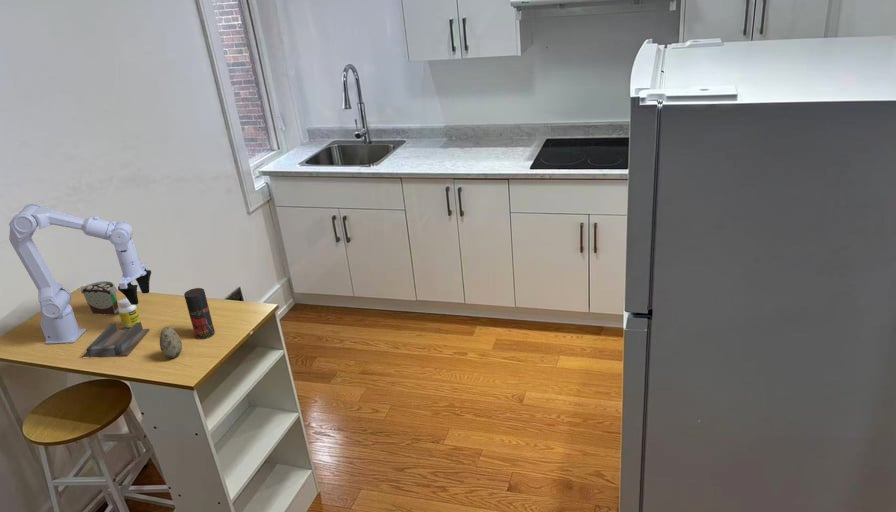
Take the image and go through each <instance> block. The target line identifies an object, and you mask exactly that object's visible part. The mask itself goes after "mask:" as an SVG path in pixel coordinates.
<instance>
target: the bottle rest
mask: <svg viewBox="0 0 896 512" xmlns="http://www.w3.org/2000/svg"><path fill="white" fill-rule="evenodd" d="M149 332H150V328H143V325H142V322H138V323H136V324H135V325H134V326H133V327H132V328H131V329H130V330H125V329H118V327H117V324H116V323H110V324H109V325H108V326H107V327H106V328H105V329H104V330H103V331H102V332H101V333H100V334H99V335H98V336H97V337H96V339H94V340H93V341H92V343H90V344H89V346H88V347H87V348H86V352H85V353H84V354H83V355H82V358H83V357H98V358H115V357H118V358H120V357H121V358H122V357H128V356H129V355H130V354H131V353H132V351H134V349H135V348H136V347H137V346H138V345H139V343H140V342H141V341H142V340H143V338H145V336H146V335H147V334H148V333H149Z"/></svg>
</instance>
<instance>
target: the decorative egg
mask: <svg viewBox="0 0 896 512" xmlns="http://www.w3.org/2000/svg"><path fill="white" fill-rule="evenodd" d="M159 348H160V350H161V353H162V355H164V356H165V357H167V358H176V357H178V356H179V355H180V354H181V352H182V350H183V343H182V340H181V338H180V335H178V333H177V332H176V331H175V329H173V327H169V326H165V327H164V328H162V329H161V332H160V336H159Z"/></svg>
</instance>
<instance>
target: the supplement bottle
mask: <svg viewBox="0 0 896 512" xmlns="http://www.w3.org/2000/svg"><path fill="white" fill-rule="evenodd" d="M117 303H118V308H119V309H118V311H119V312H118V314H119V317H120V321H121V323H122V328H123V330H130V329H131V328H132V327H133V326H134V325H135V324H136V323H138V322H141V318H140V315H139V310H138V307H137V305H131V303H130V302H129V300H128V299H127V298H126V297H124V298H121V299H119V300H118V301H117ZM141 323H142V322H141Z"/></svg>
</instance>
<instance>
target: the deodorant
mask: <svg viewBox="0 0 896 512" xmlns="http://www.w3.org/2000/svg"><path fill="white" fill-rule="evenodd" d="M183 295H184V300H185V305H186V307H187V311H188V314H189V317H190V321H191V326H192V329H193V333H194V337H195V339H197V340H206V339H209V338H211V337H213V336H214V335H215V333H216V331H215V328H214V324H213V323H214V322H213V319H212V315H211V312H210V307H209V303H208V300H207V295H206V292H205V289H204V288H201V287H195V288H192V289H191V288H190V289H188V290H186V291H185V292H184V293H183Z"/></svg>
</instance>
